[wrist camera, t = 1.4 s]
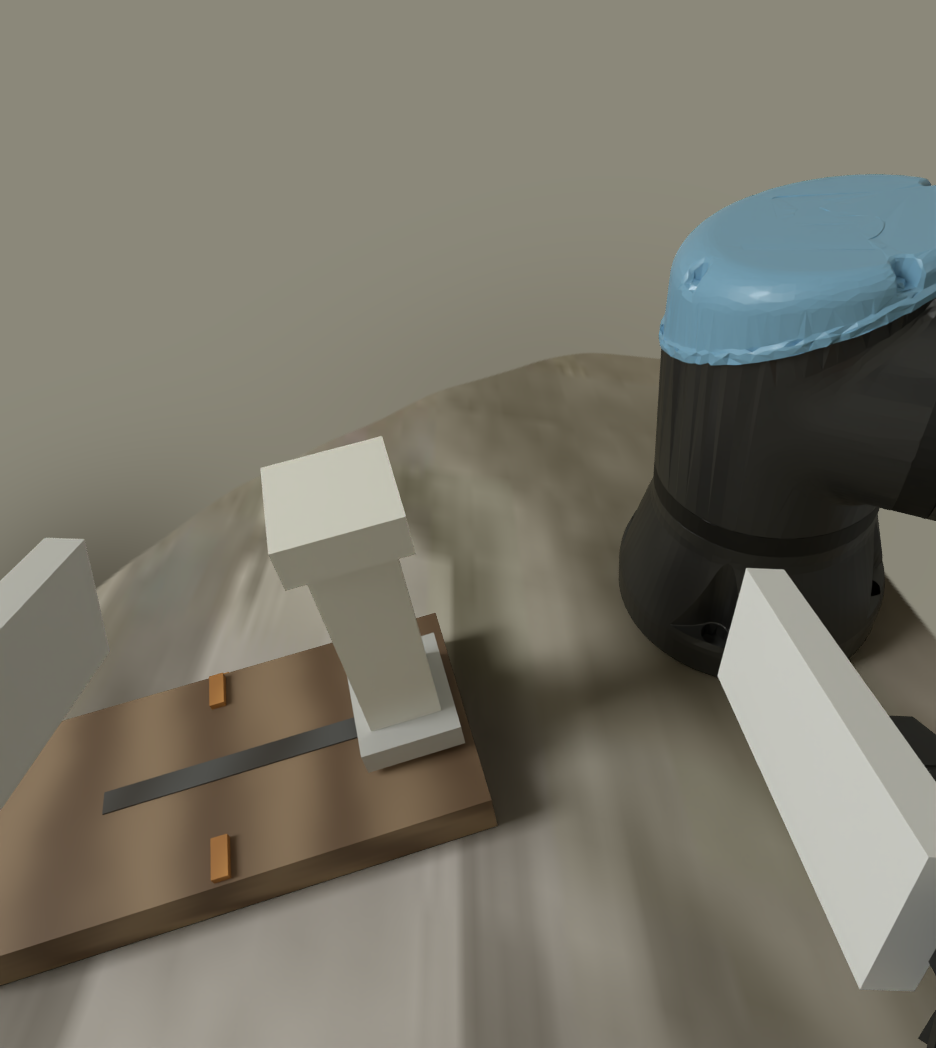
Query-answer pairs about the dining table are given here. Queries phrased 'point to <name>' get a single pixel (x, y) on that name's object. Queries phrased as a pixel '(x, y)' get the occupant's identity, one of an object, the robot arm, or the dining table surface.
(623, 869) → the dining table surface
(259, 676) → the fader console
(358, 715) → the fader knob
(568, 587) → the dining table surface
